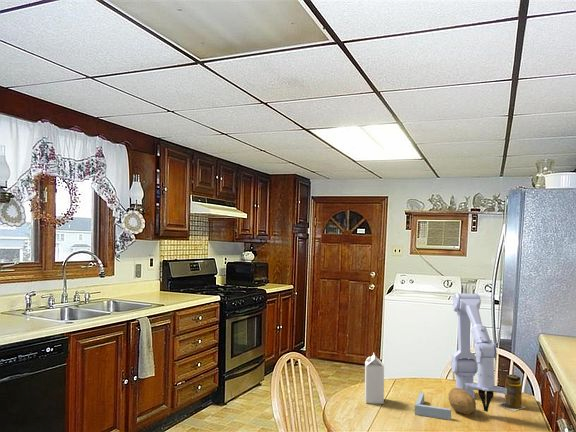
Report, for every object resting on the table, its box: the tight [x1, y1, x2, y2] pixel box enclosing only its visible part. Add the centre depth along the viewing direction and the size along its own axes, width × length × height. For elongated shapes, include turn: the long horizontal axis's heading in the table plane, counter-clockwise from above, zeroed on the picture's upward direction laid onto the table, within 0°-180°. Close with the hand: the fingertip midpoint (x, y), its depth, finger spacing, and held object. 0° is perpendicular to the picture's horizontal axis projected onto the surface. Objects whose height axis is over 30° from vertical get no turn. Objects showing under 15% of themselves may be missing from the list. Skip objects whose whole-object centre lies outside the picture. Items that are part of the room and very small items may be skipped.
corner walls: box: [414, 391, 452, 421], centre depth 182 cm, size 16×13×4 cm
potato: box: [448, 387, 477, 415], centre depth 180 cm, size 10×14×8 cm
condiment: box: [497, 374, 526, 412], centre depth 187 cm, size 7×8×12 cm
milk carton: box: [364, 352, 385, 405], centre depth 192 cm, size 7×7×19 cm
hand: (485, 410), depth 177 cm, fingers closed
